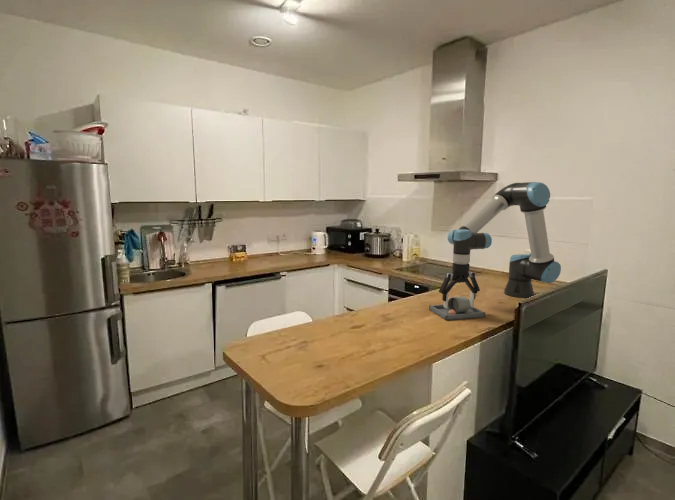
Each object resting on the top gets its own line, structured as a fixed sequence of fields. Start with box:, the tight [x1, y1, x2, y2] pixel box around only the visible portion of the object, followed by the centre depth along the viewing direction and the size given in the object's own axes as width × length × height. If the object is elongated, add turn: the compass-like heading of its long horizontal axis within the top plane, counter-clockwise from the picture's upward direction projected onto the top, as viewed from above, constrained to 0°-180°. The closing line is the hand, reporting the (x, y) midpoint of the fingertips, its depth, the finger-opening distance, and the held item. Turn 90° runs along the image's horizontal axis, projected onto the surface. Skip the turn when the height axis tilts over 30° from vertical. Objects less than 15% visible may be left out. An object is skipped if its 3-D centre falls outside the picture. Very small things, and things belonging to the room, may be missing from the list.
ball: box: [448, 309, 456, 315], centre depth 170 cm, size 3×3×3 cm
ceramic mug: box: [447, 296, 470, 313], centre depth 178 cm, size 11×8×8 cm
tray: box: [428, 303, 486, 321], centre depth 177 cm, size 20×16×2 cm
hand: (458, 306), depth 177 cm, fingers open, 13 cm apart
